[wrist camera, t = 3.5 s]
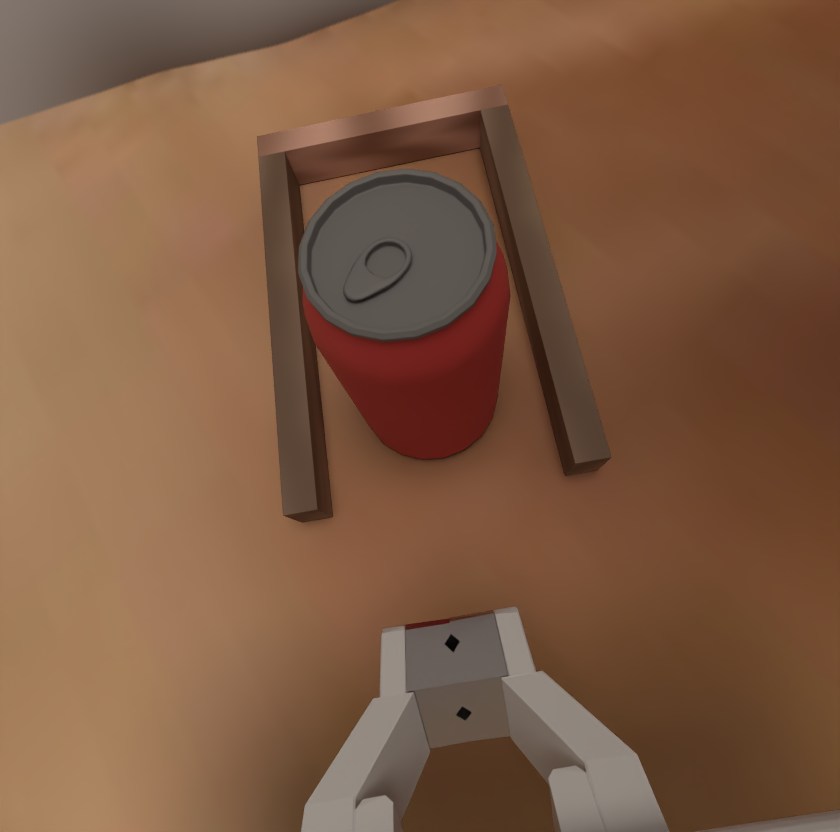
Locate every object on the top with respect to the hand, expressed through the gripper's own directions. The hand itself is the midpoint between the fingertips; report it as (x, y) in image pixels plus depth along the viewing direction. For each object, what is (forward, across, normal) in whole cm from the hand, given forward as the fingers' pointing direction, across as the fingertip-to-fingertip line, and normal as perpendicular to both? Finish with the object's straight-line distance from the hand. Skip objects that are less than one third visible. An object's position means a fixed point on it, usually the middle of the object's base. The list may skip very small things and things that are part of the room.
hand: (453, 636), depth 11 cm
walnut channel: (+19, 0, -3) cm, 20 cm away
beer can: (+15, 0, +1) cm, 15 cm away
